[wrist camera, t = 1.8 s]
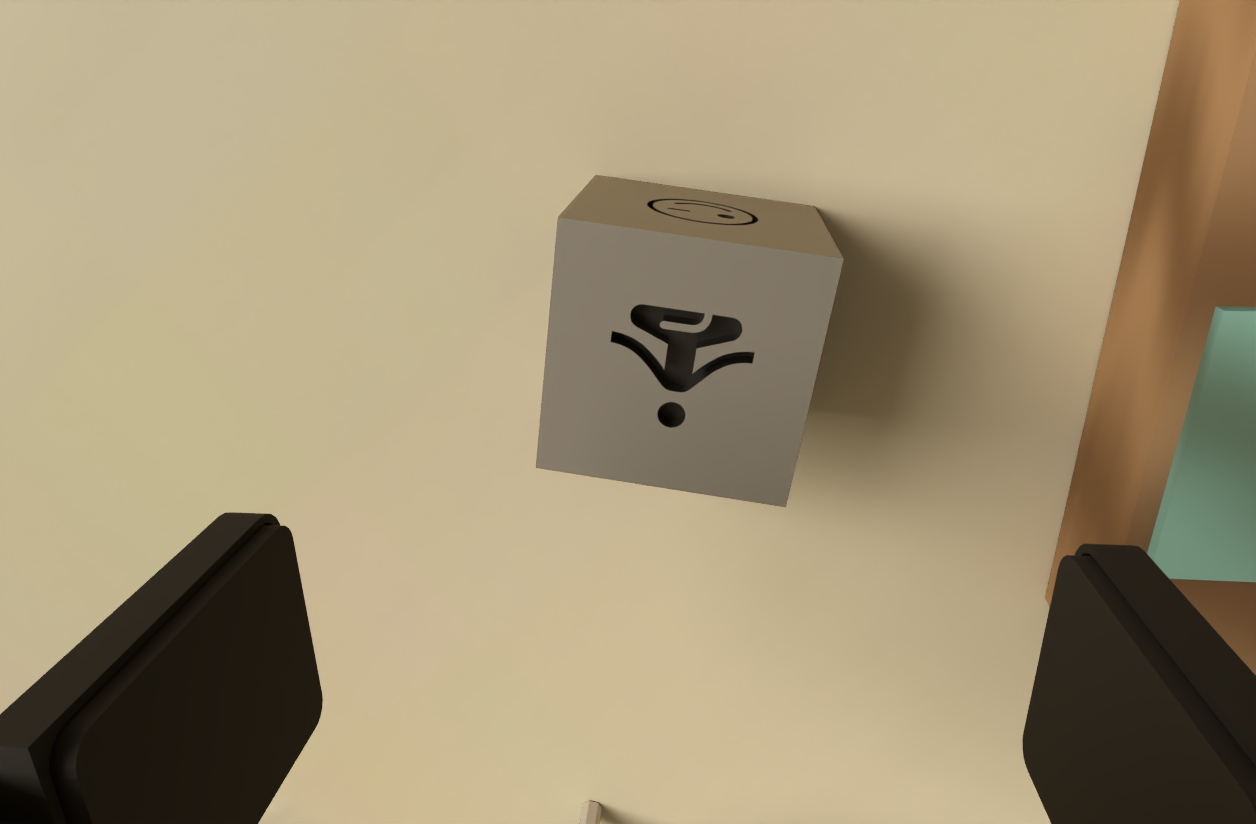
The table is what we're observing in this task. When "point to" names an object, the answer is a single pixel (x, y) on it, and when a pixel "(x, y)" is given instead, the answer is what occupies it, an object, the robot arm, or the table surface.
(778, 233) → the dice cube
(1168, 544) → the wooden block base
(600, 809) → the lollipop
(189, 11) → the table surface
